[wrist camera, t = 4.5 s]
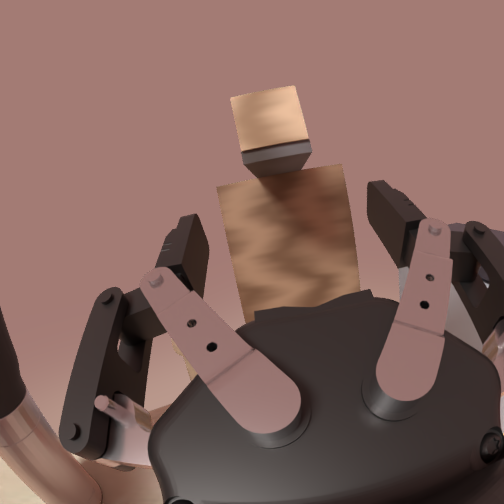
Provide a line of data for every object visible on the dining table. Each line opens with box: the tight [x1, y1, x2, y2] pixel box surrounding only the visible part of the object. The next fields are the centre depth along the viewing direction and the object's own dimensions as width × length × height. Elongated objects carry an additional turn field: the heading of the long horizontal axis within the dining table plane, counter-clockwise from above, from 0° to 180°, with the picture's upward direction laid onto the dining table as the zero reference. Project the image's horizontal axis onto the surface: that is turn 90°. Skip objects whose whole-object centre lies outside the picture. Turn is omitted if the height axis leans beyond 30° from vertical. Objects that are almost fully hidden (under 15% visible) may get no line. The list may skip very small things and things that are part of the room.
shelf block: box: [217, 164, 360, 324], centre depth 33 cm, size 12×13×32 cm
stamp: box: [230, 86, 312, 178], centre depth 25 cm, size 4×22×6 cm, turn 173°
